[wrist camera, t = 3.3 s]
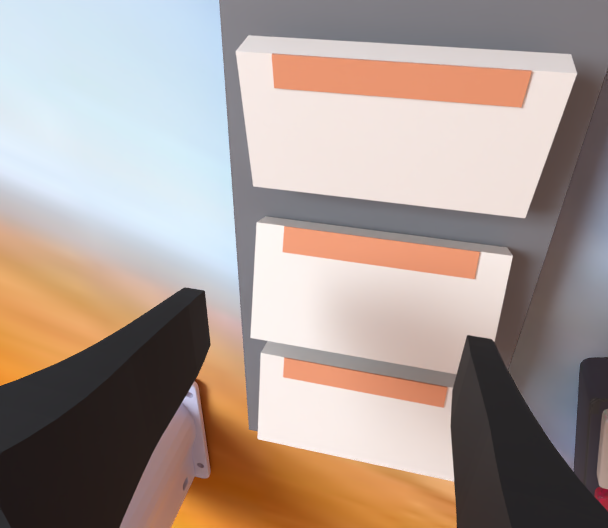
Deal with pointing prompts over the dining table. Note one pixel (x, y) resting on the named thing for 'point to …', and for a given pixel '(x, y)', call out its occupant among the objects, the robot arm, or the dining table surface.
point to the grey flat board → (410, 218)
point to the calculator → (593, 428)
